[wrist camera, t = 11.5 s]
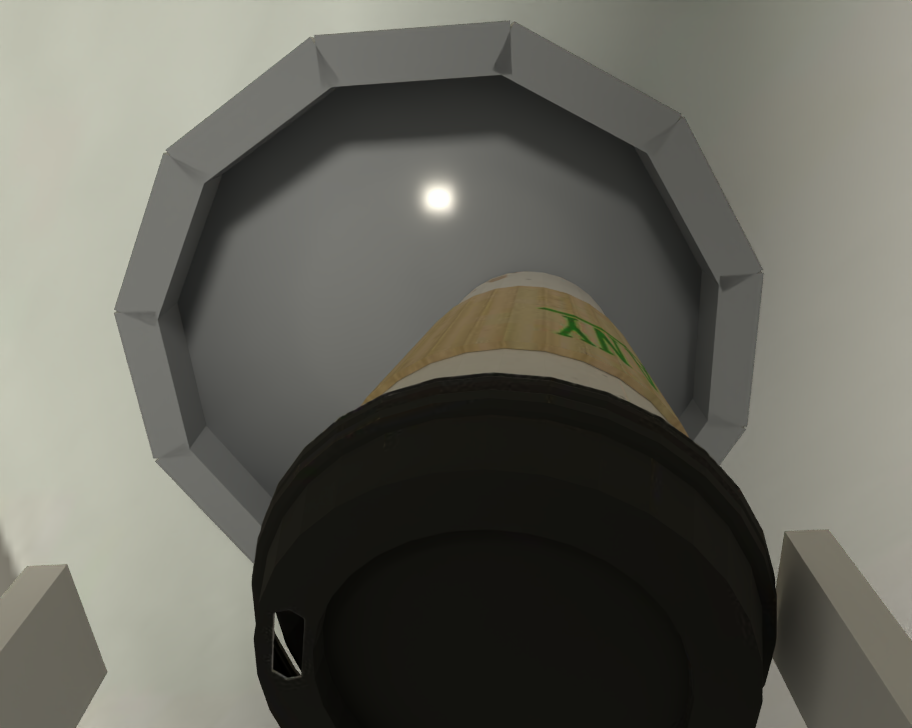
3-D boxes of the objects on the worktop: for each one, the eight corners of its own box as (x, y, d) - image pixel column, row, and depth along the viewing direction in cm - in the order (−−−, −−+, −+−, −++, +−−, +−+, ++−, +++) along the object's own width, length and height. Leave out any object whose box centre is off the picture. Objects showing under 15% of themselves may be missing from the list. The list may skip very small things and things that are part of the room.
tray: (93, 56, 23) (43, 55, 20) (752, 7, 22) (793, -1, 20) (222, 576, 32) (199, 625, 29) (704, 553, 31) (728, 601, 28)
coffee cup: (632, 492, 27) (713, 926, 13) (382, 447, 28) (216, 817, 14) (700, 242, 23) (913, 496, 9) (408, 197, 24) (211, 372, 10)
